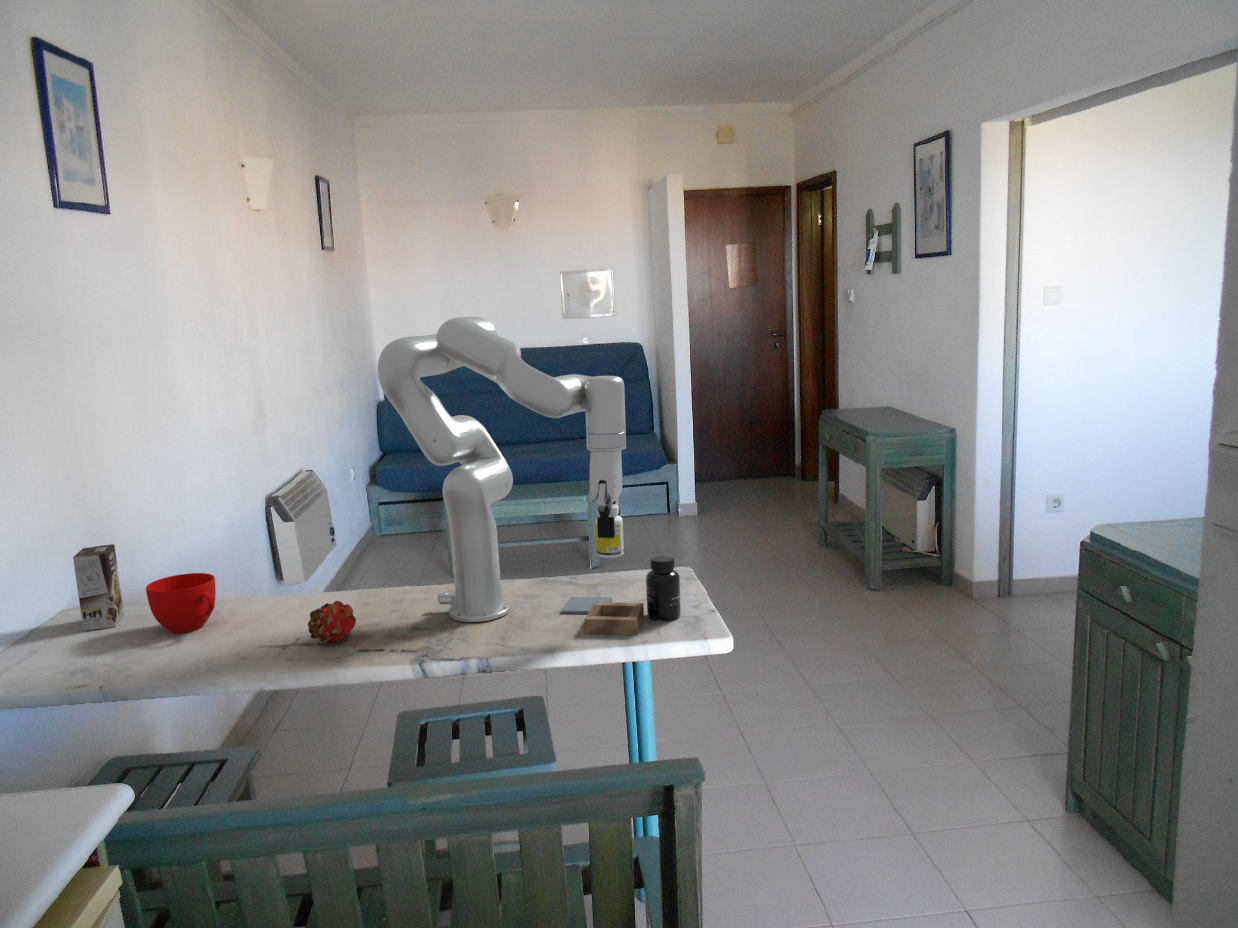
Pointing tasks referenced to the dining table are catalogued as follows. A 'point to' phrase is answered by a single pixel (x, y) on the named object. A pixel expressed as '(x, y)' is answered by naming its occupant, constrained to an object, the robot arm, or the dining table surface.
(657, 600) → the supplement bottle
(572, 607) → the slate mat
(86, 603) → the coffee box
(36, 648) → the dining table surface
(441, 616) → the dining table surface
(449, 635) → the dining table surface
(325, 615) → the dragon fruit
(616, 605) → the walnut collar
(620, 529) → the supplement bottle
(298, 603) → the dining table surface
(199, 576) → the ceramic cup
